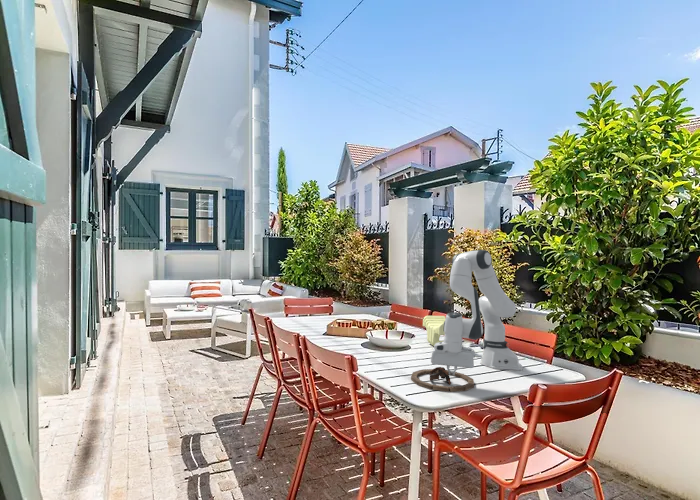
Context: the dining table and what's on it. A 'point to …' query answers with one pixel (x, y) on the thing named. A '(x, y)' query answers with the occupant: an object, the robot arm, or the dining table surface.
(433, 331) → the ribbed pale green clamp
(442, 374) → the dark brown arched piece
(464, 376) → the brown flat ring
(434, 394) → the dining table surface
